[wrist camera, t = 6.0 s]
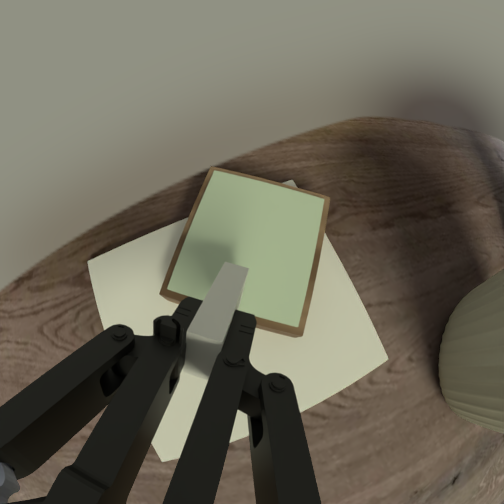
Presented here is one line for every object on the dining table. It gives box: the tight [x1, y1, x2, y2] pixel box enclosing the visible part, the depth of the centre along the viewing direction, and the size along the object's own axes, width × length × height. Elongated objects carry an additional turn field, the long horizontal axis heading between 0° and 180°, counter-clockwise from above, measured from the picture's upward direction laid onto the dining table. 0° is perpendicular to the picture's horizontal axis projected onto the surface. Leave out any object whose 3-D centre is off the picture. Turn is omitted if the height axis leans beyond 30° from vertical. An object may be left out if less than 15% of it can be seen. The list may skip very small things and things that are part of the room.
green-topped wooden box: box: [159, 166, 330, 338], centre depth 20 cm, size 3×10×11 cm
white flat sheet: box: [87, 180, 388, 462], centre depth 20 cm, size 20×18×1 cm
